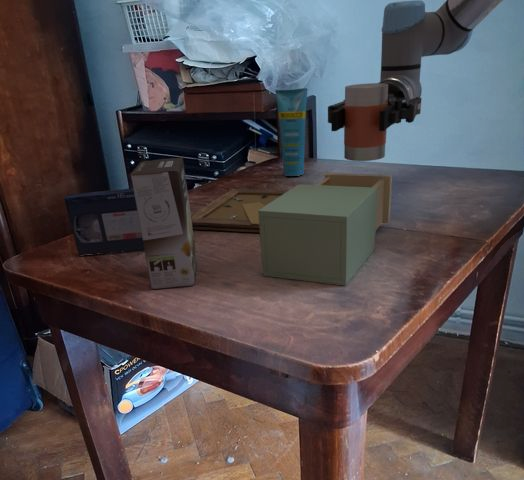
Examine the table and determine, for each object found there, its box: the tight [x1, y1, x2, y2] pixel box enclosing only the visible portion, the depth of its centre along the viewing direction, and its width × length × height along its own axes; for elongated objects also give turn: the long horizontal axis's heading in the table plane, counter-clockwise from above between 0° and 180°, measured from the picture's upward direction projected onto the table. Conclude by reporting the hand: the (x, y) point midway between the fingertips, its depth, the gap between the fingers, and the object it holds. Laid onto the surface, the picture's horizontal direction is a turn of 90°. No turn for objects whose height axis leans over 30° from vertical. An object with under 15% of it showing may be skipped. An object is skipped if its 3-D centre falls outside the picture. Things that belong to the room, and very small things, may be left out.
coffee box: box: [130, 157, 198, 290], centre depth 76 cm, size 9×6×16 cm
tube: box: [274, 87, 308, 177], centre depth 126 cm, size 7×5×19 cm, turn 81°
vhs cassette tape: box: [63, 187, 145, 256], centre depth 89 cm, size 18×3×10 cm, turn 95°
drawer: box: [316, 172, 393, 231], centre depth 89 cm, size 18×11×8 cm, turn 155°
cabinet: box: [258, 183, 377, 287], centre depth 78 cm, size 15×13×10 cm
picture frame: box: [191, 188, 290, 233], centre depth 105 cm, size 19×2×24 cm
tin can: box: [343, 82, 388, 162], centre depth 85 cm, size 7×7×10 cm
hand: (357, 121), depth 80 cm, fingers closed on tin can, 7 cm apart
